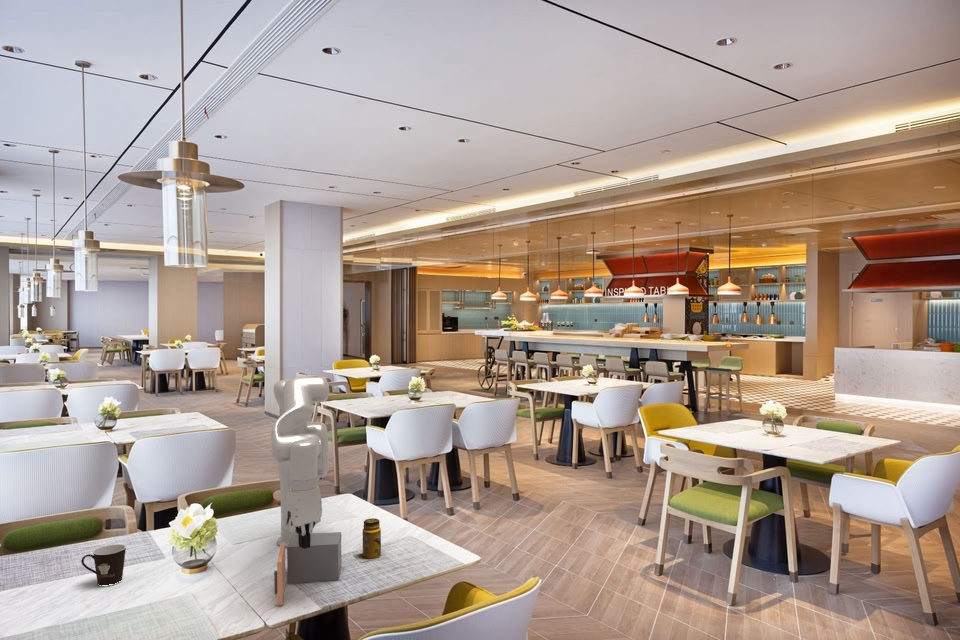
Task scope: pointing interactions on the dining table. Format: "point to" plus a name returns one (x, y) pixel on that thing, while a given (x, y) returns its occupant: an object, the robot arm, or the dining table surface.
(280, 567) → the door
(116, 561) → the coffee mug
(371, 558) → the condiment
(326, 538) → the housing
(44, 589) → the dining table surface
